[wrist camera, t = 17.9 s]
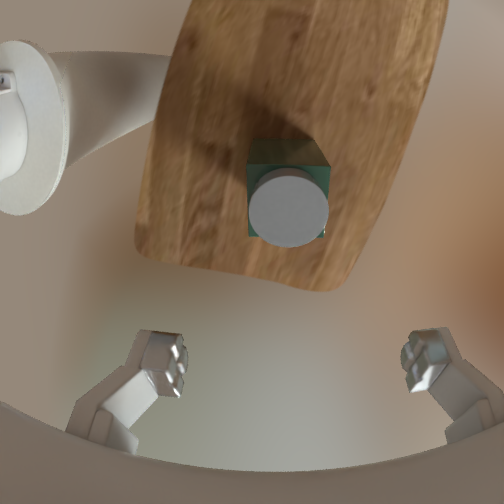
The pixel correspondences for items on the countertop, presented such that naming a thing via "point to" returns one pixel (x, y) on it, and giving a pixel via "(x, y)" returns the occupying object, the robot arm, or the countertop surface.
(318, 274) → the countertop surface
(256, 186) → the green box with disc
